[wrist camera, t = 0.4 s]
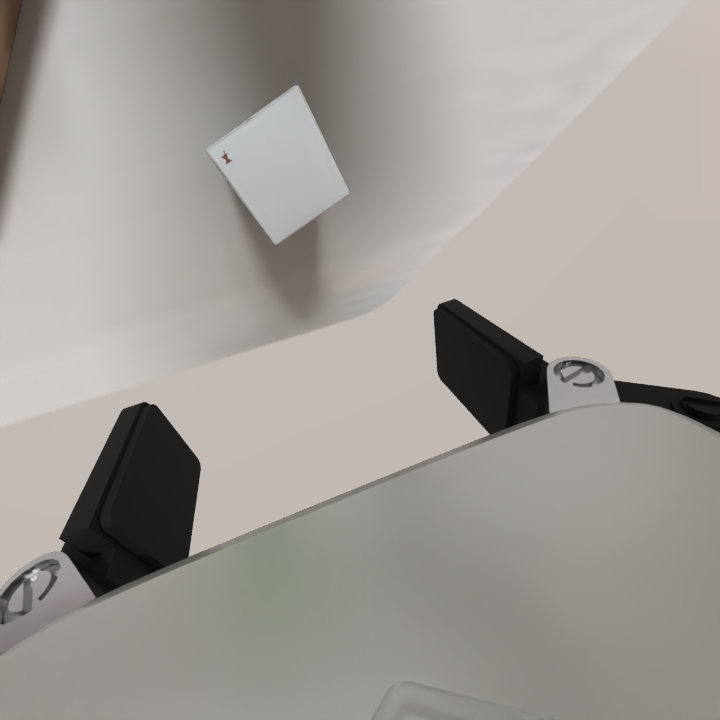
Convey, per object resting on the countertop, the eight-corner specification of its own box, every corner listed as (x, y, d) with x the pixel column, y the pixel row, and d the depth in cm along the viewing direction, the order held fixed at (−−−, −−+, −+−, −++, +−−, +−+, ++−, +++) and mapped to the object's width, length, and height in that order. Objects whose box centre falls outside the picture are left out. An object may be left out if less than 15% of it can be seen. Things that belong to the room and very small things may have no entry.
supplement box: (264, 223, 35) (273, 249, 24) (214, 152, 30) (199, 146, 20) (320, 185, 34) (353, 195, 24) (279, 107, 30) (297, 79, 20)
